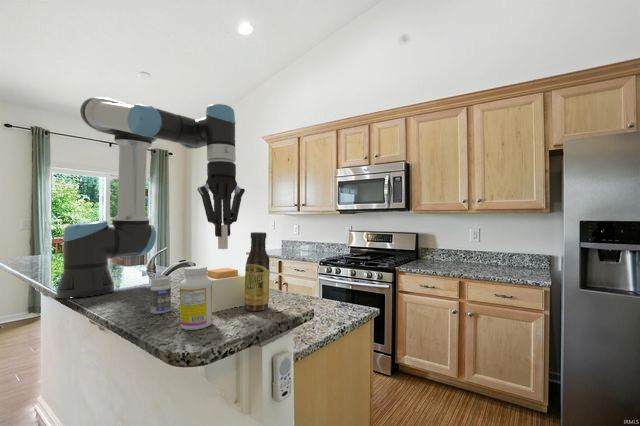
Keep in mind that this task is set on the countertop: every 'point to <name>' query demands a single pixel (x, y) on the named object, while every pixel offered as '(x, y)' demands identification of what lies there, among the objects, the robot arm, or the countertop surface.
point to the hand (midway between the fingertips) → (223, 248)
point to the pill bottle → (160, 295)
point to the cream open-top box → (228, 292)
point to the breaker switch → (222, 273)
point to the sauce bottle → (257, 274)
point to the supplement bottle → (195, 299)
